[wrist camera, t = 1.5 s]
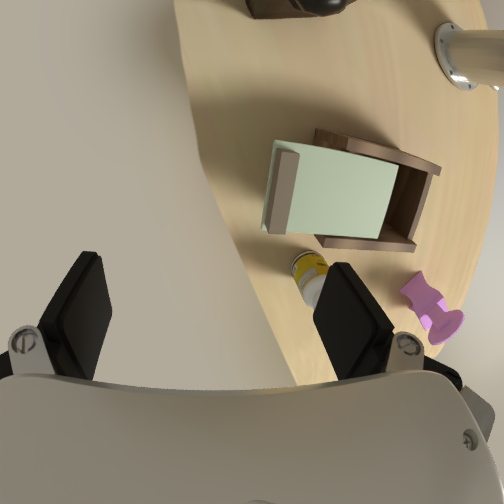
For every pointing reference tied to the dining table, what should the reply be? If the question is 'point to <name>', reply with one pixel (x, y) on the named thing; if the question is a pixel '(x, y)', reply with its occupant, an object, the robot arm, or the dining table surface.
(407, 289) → the toy chair
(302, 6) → the brown manual coffee grinder
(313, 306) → the supplement bottle
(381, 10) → the dining table surface
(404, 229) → the box
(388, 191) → the lid
